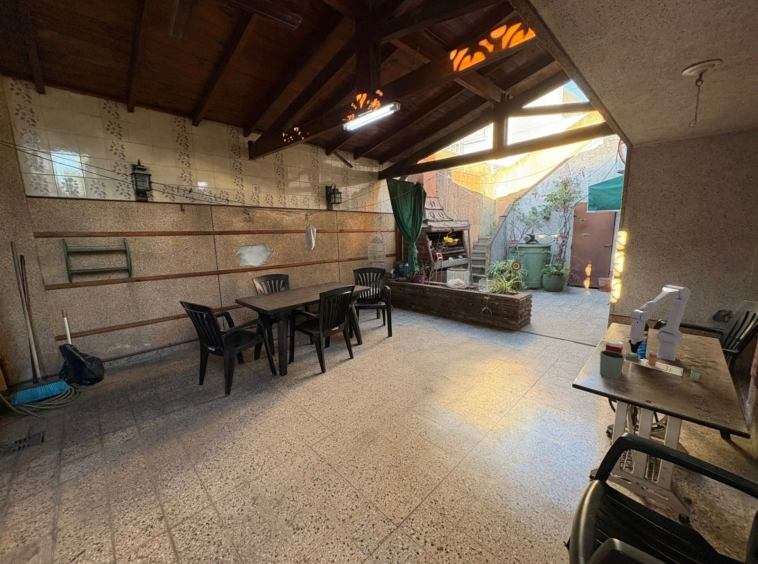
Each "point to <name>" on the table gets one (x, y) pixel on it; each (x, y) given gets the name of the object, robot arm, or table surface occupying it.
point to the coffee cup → (614, 346)
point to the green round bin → (611, 364)
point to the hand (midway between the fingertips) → (633, 352)
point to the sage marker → (695, 374)
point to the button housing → (633, 358)
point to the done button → (633, 355)
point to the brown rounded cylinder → (652, 359)
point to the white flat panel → (659, 366)
